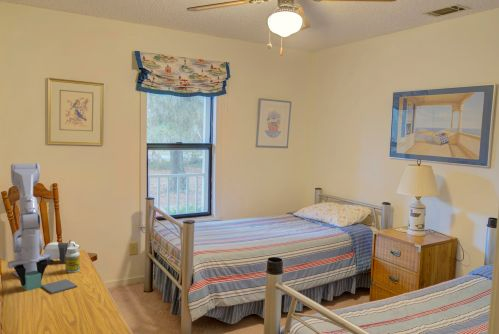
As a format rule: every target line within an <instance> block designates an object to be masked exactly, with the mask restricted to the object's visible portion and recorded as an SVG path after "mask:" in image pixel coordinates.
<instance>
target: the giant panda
mask: <svg viewBox="0 0 499 334" xmlns="http://www.w3.org/2000/svg"><path fill="white" fill-rule="evenodd" d="M69 247H78V250H79V249H80V248H81V245H79V244H77V243H76V242H75V241H72V240H71V239H69V241H68V242H58V241H52V242H49V243H48V244H46V245H44V246H43V247H42V250H43V252H44V253H43V254H50V253H51V254H52V255H53V259H52V260H47V262H48V265H52V264H53V262H54V260H59V261H60V262H59V263H60V264H61V265H62V264H63V265H64V264H65V265H66V257H65V256H66V254H67V253H68V252H67V248H69Z"/></svg>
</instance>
